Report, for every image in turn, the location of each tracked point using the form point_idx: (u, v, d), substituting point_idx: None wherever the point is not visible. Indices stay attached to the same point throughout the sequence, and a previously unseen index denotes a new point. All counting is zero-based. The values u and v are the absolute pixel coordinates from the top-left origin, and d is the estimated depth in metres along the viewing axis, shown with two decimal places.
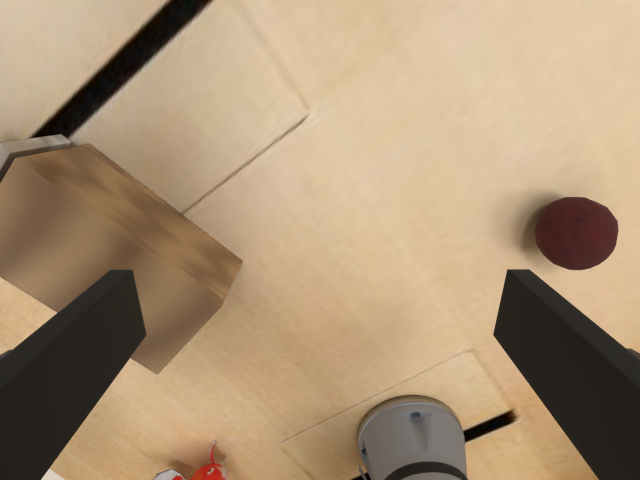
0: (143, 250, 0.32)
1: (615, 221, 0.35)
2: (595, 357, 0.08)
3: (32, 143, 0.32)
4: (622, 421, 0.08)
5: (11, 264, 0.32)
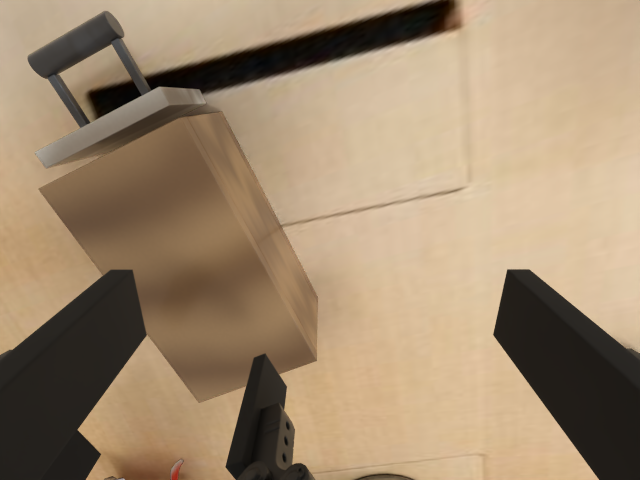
0: (267, 275, 0.26)
1: None
2: (595, 357, 0.08)
3: (182, 95, 0.26)
4: (622, 421, 0.08)
5: (97, 228, 0.25)
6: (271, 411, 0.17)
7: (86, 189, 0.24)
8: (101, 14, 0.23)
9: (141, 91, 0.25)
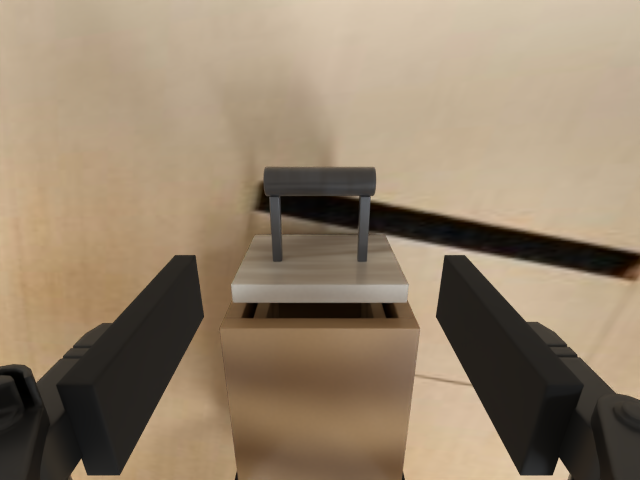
0: (400, 476, 0.24)
1: None
2: (496, 327, 0.09)
3: None
4: (511, 380, 0.09)
5: (257, 383, 0.21)
6: None
7: (274, 348, 0.20)
8: (371, 173, 0.20)
9: (360, 250, 0.22)
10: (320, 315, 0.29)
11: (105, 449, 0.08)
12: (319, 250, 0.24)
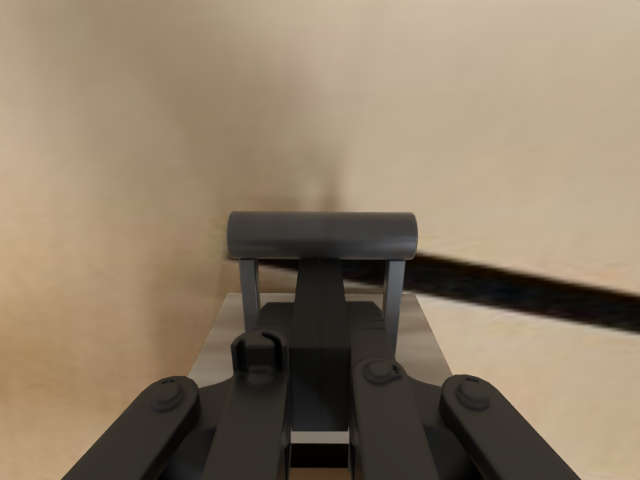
0: None
1: None
2: None
3: None
4: None
5: None
6: None
7: None
8: (410, 225, 0.12)
9: None
10: None
11: (314, 407, 0.09)
12: None
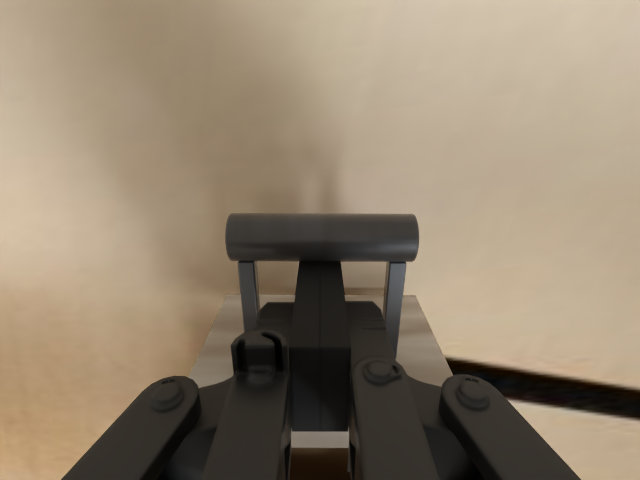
0: None
1: None
2: None
3: None
4: None
5: None
6: None
7: None
8: (411, 227, 0.12)
9: None
10: None
11: (314, 407, 0.09)
12: None
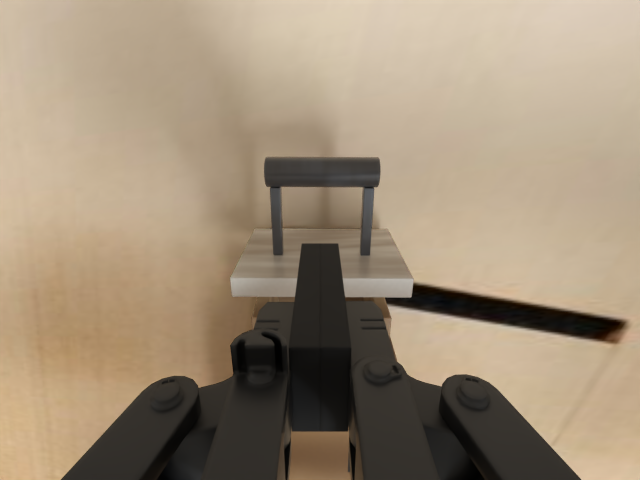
0: None
1: None
2: None
3: None
4: None
5: None
6: None
7: None
8: (375, 163, 0.20)
9: (363, 243, 0.22)
10: None
11: (314, 407, 0.09)
12: None
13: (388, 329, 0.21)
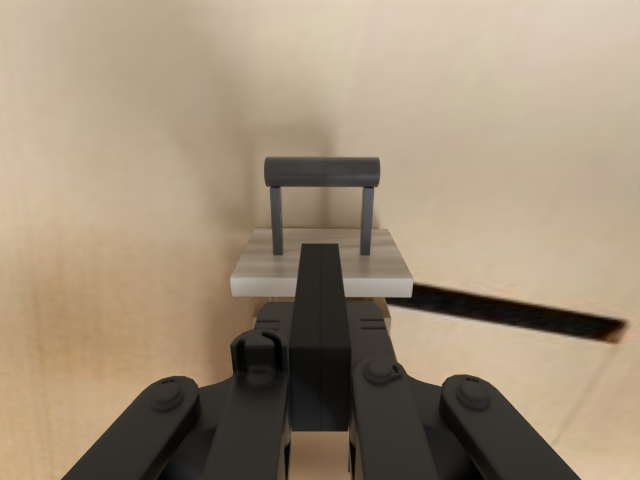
0: None
1: None
2: None
3: None
4: None
5: None
6: None
7: None
8: (375, 163, 0.20)
9: (363, 243, 0.22)
10: None
11: (314, 407, 0.09)
12: None
13: (388, 329, 0.21)
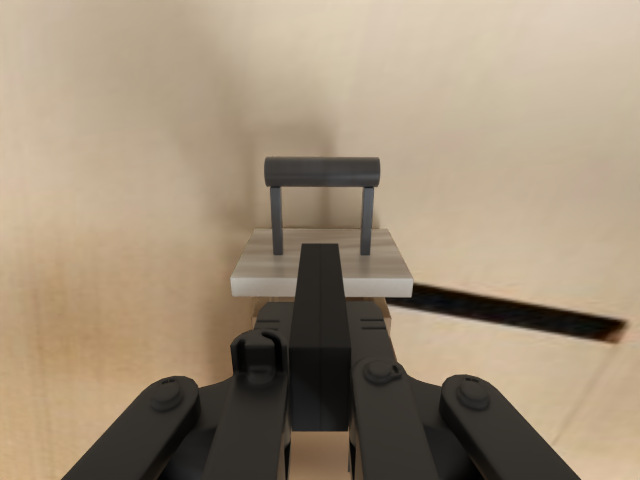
0: None
1: None
2: None
3: None
4: None
5: None
6: None
7: None
8: (375, 163, 0.20)
9: (363, 243, 0.22)
10: None
11: (314, 407, 0.09)
12: None
13: (388, 329, 0.21)
